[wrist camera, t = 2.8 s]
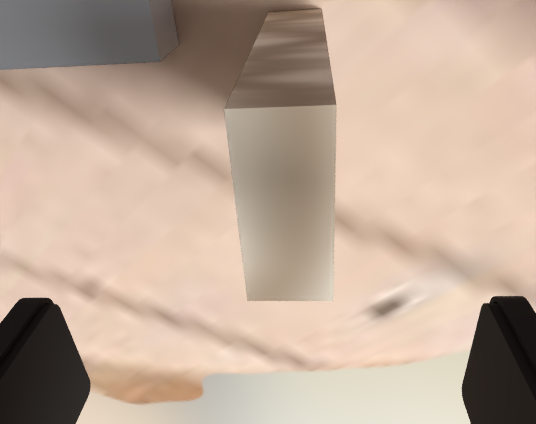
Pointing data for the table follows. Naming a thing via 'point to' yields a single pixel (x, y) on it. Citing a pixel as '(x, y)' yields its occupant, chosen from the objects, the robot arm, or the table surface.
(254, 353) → the table surface
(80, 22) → the grey slotted tile
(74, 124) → the table surface
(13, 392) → the robot arm
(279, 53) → the pine slat
